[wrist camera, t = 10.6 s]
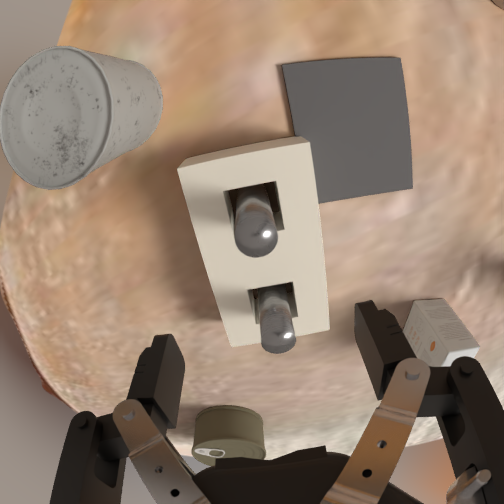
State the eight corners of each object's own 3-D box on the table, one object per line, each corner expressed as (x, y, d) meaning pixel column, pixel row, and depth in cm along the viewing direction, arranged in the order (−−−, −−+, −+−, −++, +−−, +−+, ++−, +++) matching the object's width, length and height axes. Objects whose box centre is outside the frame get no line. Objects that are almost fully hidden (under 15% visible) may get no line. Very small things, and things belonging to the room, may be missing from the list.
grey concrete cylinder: (73, 151, 28) (0, 186, 17) (80, 62, 24) (3, 56, 13) (157, 156, 29) (109, 195, 18) (169, 60, 25) (123, 39, 14)
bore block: (186, 158, 29) (176, 168, 25) (300, 135, 28) (309, 142, 24) (232, 321, 38) (231, 347, 34) (321, 305, 38) (329, 329, 34)
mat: (281, 65, 25) (282, 64, 25) (398, 58, 24) (400, 57, 24) (305, 204, 32) (306, 205, 31) (410, 187, 31) (412, 188, 30)
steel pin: (233, 184, 30) (230, 222, 22) (264, 178, 30) (274, 214, 21) (240, 212, 32) (239, 261, 23) (270, 206, 32) (281, 253, 23)
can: (252, 441, 53) (253, 471, 47) (189, 432, 51) (186, 462, 45) (273, 409, 48) (276, 444, 42) (201, 398, 46) (198, 434, 40)
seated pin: (254, 270, 35) (258, 332, 26) (281, 265, 35) (293, 325, 26) (259, 292, 36) (264, 356, 28) (285, 288, 36) (297, 350, 27)
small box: (426, 339, 42) (455, 390, 32) (396, 343, 42) (422, 397, 32) (444, 297, 38) (482, 346, 29) (413, 298, 38) (449, 353, 29)
